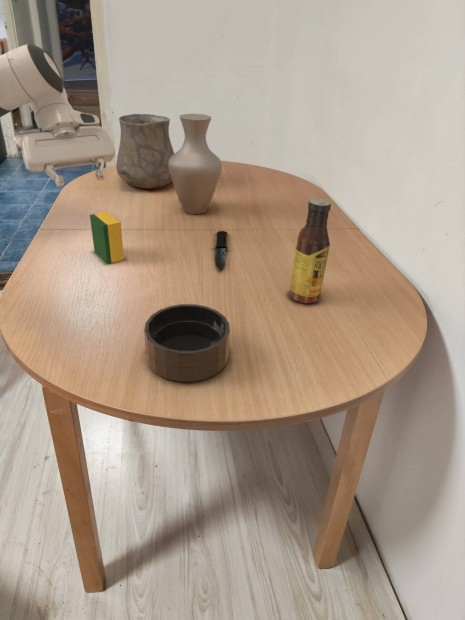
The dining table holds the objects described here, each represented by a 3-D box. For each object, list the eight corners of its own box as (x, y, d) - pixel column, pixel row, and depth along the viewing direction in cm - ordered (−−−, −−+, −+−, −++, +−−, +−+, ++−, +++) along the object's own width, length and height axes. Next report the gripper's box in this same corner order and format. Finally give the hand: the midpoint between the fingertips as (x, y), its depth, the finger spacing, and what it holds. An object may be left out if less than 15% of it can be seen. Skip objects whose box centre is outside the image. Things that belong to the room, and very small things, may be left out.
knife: (216, 230, 115) (228, 230, 115) (216, 235, 115) (228, 235, 115) (212, 268, 97) (226, 268, 97) (212, 274, 98) (226, 274, 98)
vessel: (96, 184, 143) (88, 117, 132) (146, 170, 159) (143, 108, 148) (146, 200, 133) (142, 129, 122) (194, 183, 149) (194, 118, 138)
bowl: (176, 396, 66) (175, 365, 63) (131, 350, 75) (129, 320, 71) (244, 362, 74) (246, 332, 70) (197, 324, 82) (197, 296, 79)
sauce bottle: (313, 308, 88) (330, 211, 77) (283, 299, 91) (296, 203, 80) (324, 294, 93) (341, 200, 82) (296, 285, 96) (309, 193, 85)
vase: (202, 223, 121) (203, 124, 107) (159, 211, 126) (155, 116, 113) (229, 208, 132) (233, 116, 118) (188, 197, 137) (188, 108, 124)
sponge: (107, 264, 99) (103, 225, 94) (94, 252, 104) (89, 214, 99) (124, 259, 101) (120, 222, 96) (110, 248, 106) (106, 211, 101)
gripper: (12, 122, 95) (36, 181, 94) (104, 115, 106) (126, 168, 105) (10, 139, 100) (33, 195, 99) (98, 131, 111) (119, 182, 110)
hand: (81, 181), depth 102 cm, fingers open, 8 cm apart
